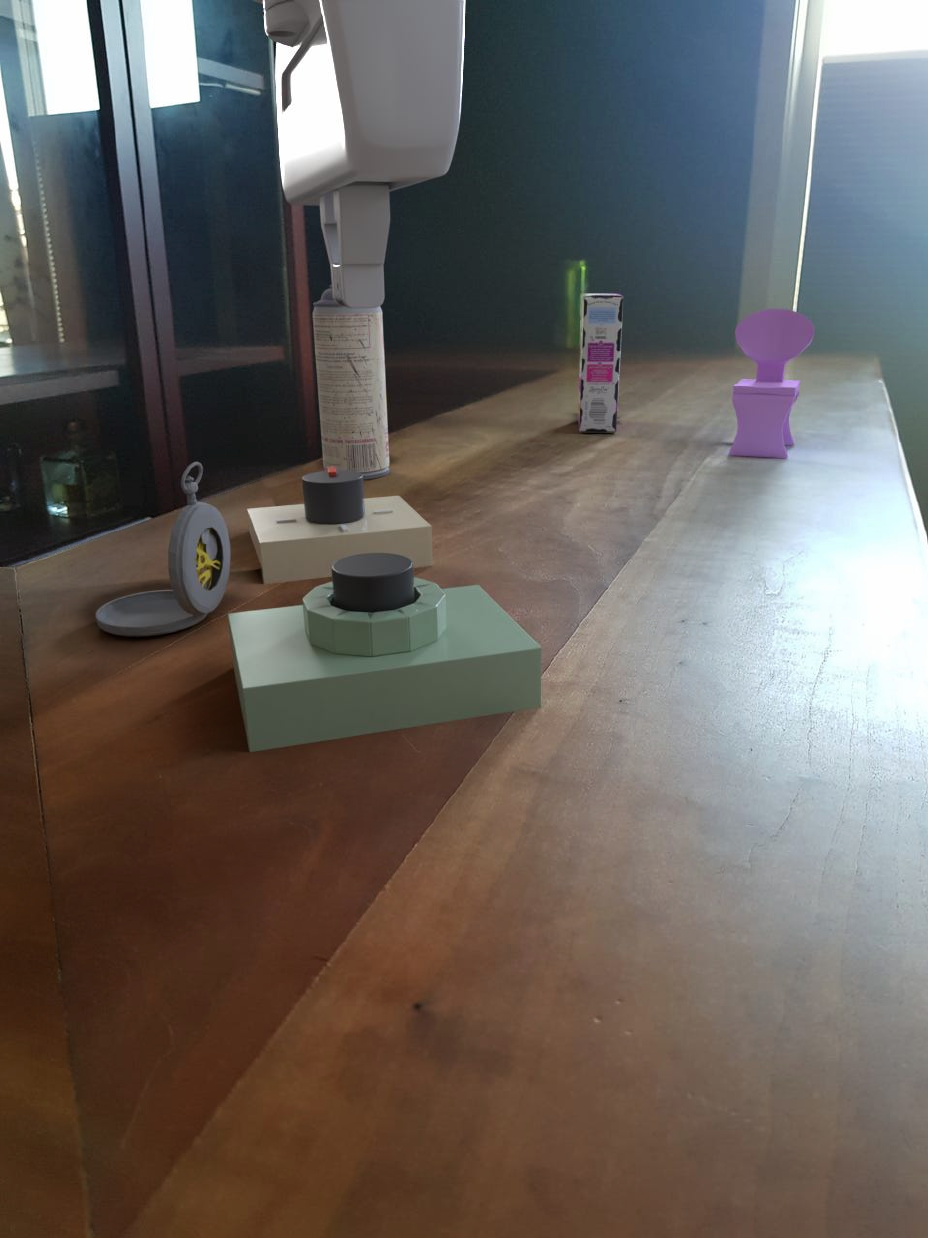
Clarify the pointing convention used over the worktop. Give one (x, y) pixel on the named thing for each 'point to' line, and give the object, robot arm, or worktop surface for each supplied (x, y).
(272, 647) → the button base
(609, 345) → the candy bar box
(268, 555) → the dial panel
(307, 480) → the dial
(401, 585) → the black push button
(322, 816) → the worktop surface
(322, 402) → the aerosol can
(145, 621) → the pocket watch
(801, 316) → the toy chair
